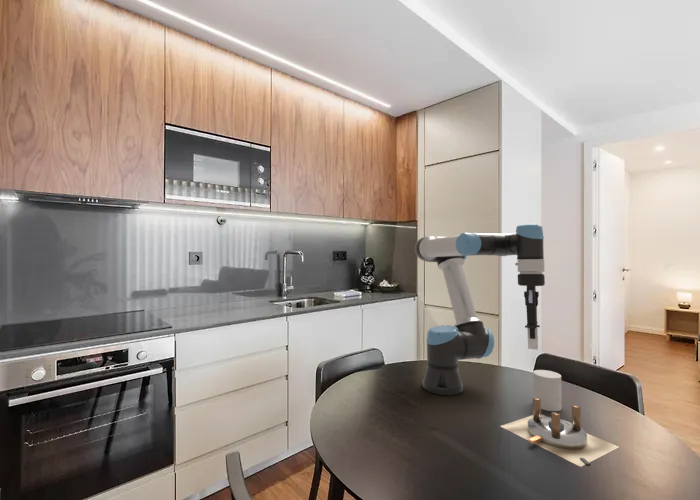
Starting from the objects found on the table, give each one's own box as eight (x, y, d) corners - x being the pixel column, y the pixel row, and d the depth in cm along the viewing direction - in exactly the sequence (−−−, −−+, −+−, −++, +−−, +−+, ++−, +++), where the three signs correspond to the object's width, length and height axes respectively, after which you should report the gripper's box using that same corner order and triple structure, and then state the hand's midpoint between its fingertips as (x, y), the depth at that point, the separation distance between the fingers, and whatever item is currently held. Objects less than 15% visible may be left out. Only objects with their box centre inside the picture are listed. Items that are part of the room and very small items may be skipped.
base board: (499, 431, 99) (499, 425, 99) (538, 417, 108) (538, 412, 108) (583, 474, 79) (583, 467, 80) (622, 454, 88) (622, 447, 88)
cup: (566, 417, 109) (565, 379, 109) (538, 414, 110) (537, 377, 111) (556, 406, 117) (555, 370, 117) (530, 404, 118) (529, 369, 119)
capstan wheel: (507, 433, 95) (506, 404, 95) (546, 418, 104) (546, 392, 104) (557, 459, 83) (557, 426, 83) (598, 440, 91) (597, 411, 91)
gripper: (519, 272, 115) (521, 343, 114) (515, 273, 104) (517, 351, 103) (544, 272, 112) (547, 345, 110) (543, 273, 100) (546, 354, 99)
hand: (533, 348), depth 107 cm, fingers closed
